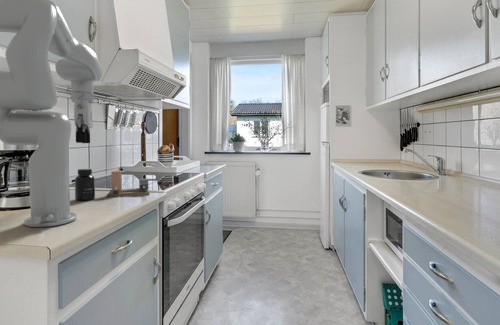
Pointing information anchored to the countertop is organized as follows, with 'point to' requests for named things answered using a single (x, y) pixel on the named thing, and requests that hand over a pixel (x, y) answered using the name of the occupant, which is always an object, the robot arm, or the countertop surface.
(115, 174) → the sliding leg
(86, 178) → the supplement bottle
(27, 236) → the countertop surface
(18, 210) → the countertop surface
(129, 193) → the gauge board
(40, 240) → the countertop surface
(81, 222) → the countertop surface
